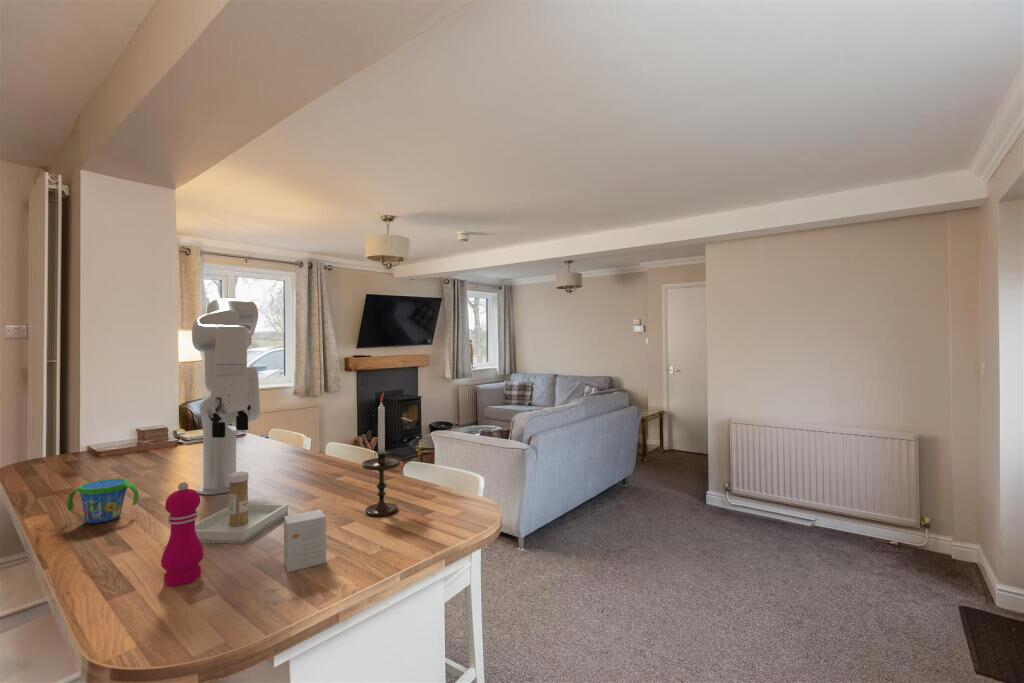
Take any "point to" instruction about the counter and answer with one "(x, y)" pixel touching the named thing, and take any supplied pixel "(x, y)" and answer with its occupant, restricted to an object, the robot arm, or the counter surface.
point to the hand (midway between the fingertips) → (230, 433)
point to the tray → (258, 521)
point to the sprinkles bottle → (238, 498)
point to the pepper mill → (182, 538)
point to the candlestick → (381, 469)
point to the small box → (304, 540)
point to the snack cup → (102, 499)
